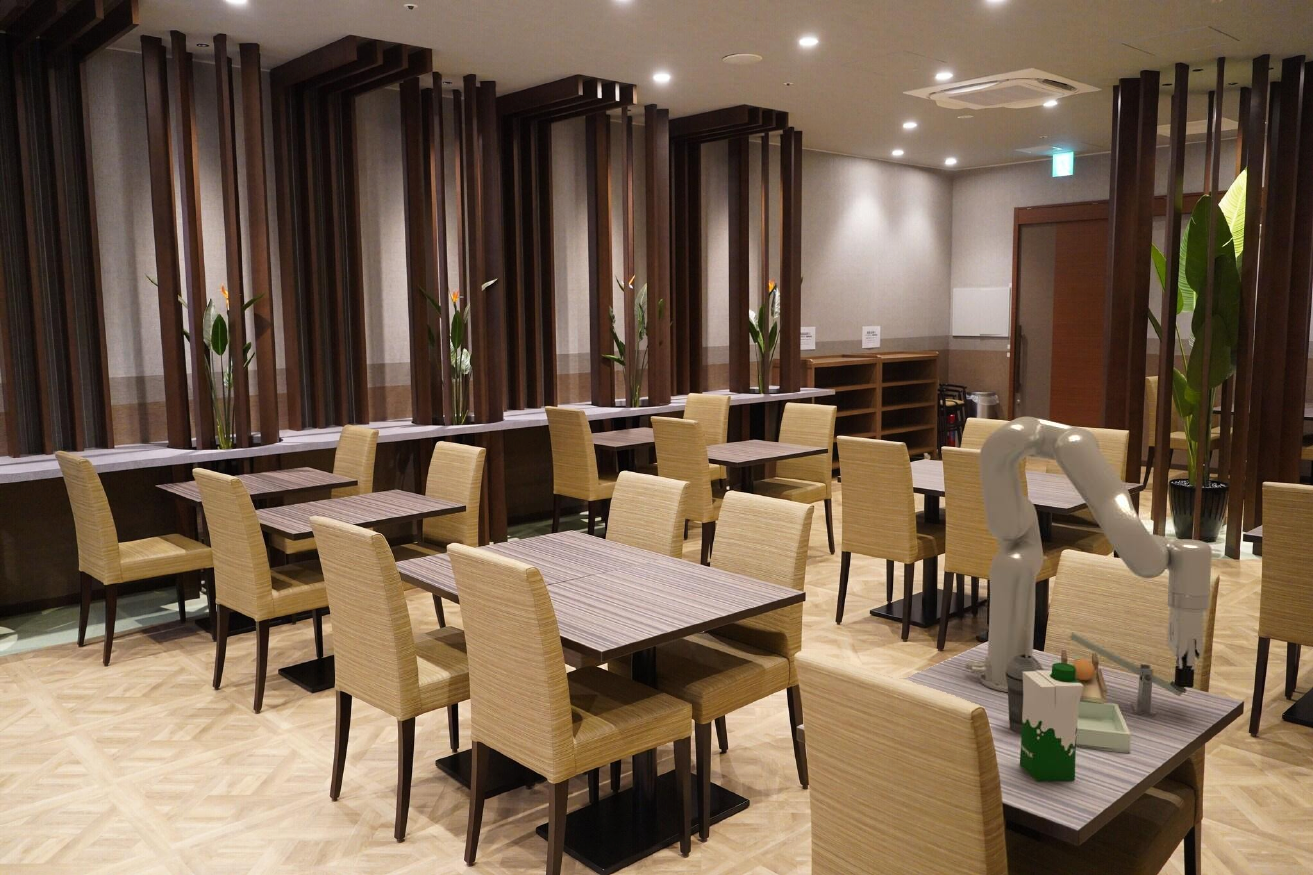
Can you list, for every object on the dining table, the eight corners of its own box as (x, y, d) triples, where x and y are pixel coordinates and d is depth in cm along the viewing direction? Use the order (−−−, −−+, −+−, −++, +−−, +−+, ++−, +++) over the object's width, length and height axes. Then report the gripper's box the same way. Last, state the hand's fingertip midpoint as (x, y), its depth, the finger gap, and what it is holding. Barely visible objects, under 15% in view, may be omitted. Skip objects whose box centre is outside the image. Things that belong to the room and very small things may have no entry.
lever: (1071, 640, 209) (1075, 633, 208) (1069, 635, 212) (1073, 628, 211) (1183, 699, 204) (1188, 692, 203) (1180, 693, 207) (1184, 686, 206)
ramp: (1067, 720, 202) (1070, 675, 201) (1059, 691, 218) (1061, 649, 217) (1104, 724, 201) (1107, 679, 199) (1093, 695, 216) (1096, 652, 215)
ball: (1071, 658, 211) (1074, 678, 210) (1069, 660, 207) (1073, 682, 206) (1093, 657, 209) (1096, 678, 208) (1092, 659, 205) (1095, 681, 204)
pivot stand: (1135, 714, 206) (1138, 670, 205) (1130, 704, 211) (1133, 661, 210) (1156, 716, 205) (1159, 672, 204) (1151, 707, 210) (1154, 663, 209)
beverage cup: (1035, 723, 201) (1040, 629, 198) (1045, 738, 194) (1051, 640, 191) (998, 721, 202) (1003, 627, 199) (1007, 737, 194) (1012, 639, 192)
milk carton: (1082, 782, 176) (1089, 675, 173) (1033, 784, 175) (1039, 676, 172) (1058, 760, 184) (1064, 657, 182) (1011, 762, 184) (1017, 659, 181)
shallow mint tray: (1061, 745, 191) (1063, 726, 190) (1053, 714, 205) (1054, 697, 205) (1129, 753, 188) (1130, 734, 187) (1116, 721, 202) (1117, 704, 202)
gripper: (1160, 589, 211) (1156, 671, 213) (1176, 609, 197) (1171, 697, 199) (1199, 591, 209) (1195, 675, 211) (1218, 611, 195) (1213, 700, 197)
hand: (1183, 685), depth 205 cm, fingers closed
